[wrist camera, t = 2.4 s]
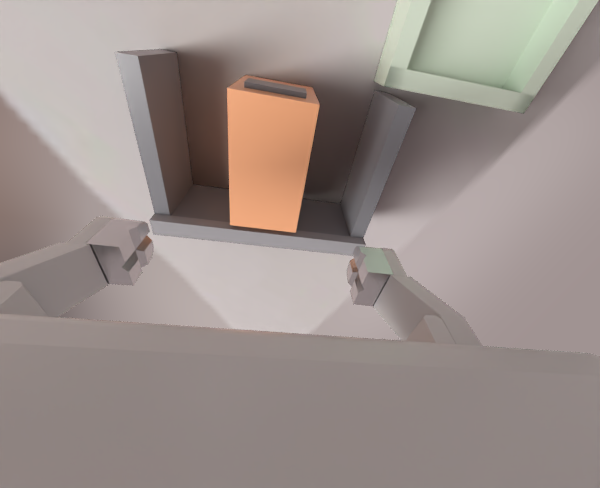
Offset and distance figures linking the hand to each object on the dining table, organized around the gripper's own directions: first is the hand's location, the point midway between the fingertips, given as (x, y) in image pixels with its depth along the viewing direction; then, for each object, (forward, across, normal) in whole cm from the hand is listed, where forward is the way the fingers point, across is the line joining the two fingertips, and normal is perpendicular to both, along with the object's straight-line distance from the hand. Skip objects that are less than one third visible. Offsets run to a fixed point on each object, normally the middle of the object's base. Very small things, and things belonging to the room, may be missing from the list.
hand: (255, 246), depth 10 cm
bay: (+12, 0, 0) cm, 12 cm away
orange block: (+12, 0, -1) cm, 12 cm away
